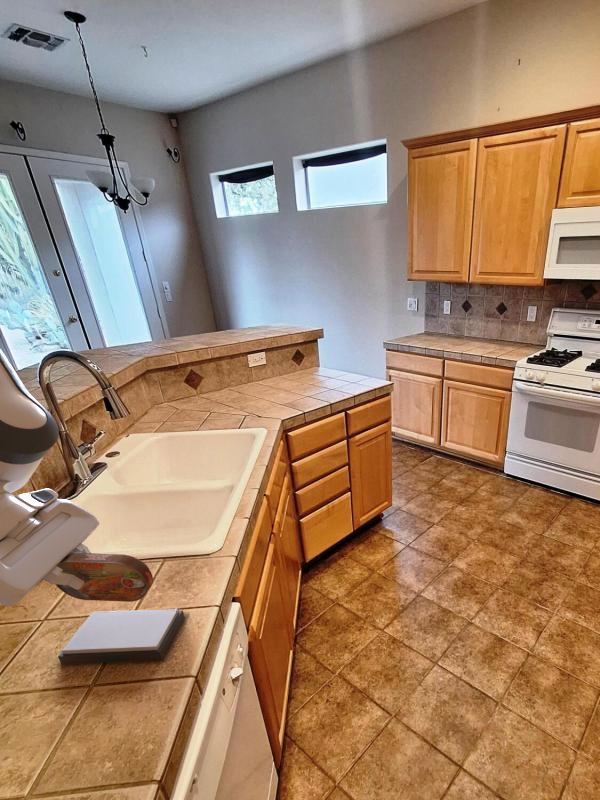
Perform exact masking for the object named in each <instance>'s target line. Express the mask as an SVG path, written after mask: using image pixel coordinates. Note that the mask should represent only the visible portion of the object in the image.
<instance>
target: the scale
mask: <svg viewBox="0 0 600 800" xmlns="http://www.w3.org/2000/svg"><path fill="white" fill-rule="evenodd" d="M185 618H186V616H185V613H184V610H183V609H179V608H167V609H166V608H162V609H159V608H158V609H133V610H131V609H130V610H105V611H92V612H91V613H90V614H89V616H88V617H87V619H86V620H85V621H84V622H83V623H82V624H81V626H80V627H79V628H78V630H76V631H75V633H74V635H73V636H72V637H71V638H70V640H68V641H67V643H66V644H65V646H64V647H62V649H61V652H60V653H59V655H58V656H57V658H58V660H59V662H60V664H61V665H62V666H65V665H84V664H85V665H86V664H108V663H109V664H110V663H130V662H153V661H163V659H165V656H166V654H167V652H168V650H169V649H170V647H171V645H172V643H173V640H174V639H175V637H176V635H177V634H178V631H179V629H180V628H181V626H182V624H183V622H184V620H185Z"/></svg>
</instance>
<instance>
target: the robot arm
mask: <svg viewBox="0 0 600 800" xmlns="http://www.w3.org/2000/svg"><path fill="white" fill-rule="evenodd" d="M59 435H60V430H59V426H58V423H57V421H56V419H55V418H54V416H53V415H52V414H51V413H50V412H49V411H48V410H47V408H45V407H44V406H43V405H42V404H41V403H40V402H39V401H38V400H37V399H36V398H35V397H34V396H33V395H32V394H31V392H29V391H28V389H27V388H26V386H25V384H24V383H23V381H22V380H21V378H20V377H19V375H18V374H17V372H16V370H15V368H14V367H13V366H12V364H11V362H10V361H9V359H8V358H7V356H6V355H5V353H4V352H3V350H2V349H1V348H0V605H1V606H3V607H15V606H18V605H19V604H20V603H21V602H22V601H24V600H25V598H26V597H27V596H28V595H30V593H31V592H33V590H34V589H36V587H38V586H39V585H40V584H41V583H43V581H45V582H47V583H48V584H51V585H55V584H60V585H69V586H71V587H72V588H74V589H77V590H78V589H80V588H81V587H82V586H83V584H84V583H85V582H86V581H87V580H88V578H87V577H86V576H83V575H82V574H81V573H79V572H78V573H77V574H76V575H72V574H66V573H61V572H62V571H63V569H61V568H59V567H57V565H58V564H59V563H60V562H61V561H62V560H63V559H64V558H65V557H66V556H67V555H70V554H73V553H92V552H91V551H90V549H89V547H88V546H86V545H85V544H83V543H84V542H85V541H86V540H87V539H88V538H89V537H90V536H91V535H92V534H93V533H94V532H95V531H96V530H97V528H98V527H99V525H100V520H99V518H97V516H95V514H93V513H92V512H90V511H88V509H87V510H86V509H85V508H84V507H82V506H80V505H78V504H76V503H75V502H73V501H71V500H69V499H65V498H58V497H59V493H58V492H56V491H55V490H54V489H52V488H42V489H38V490H35V491H30V492H25V493H17V494H16V495H14V493H15V492H17V491H19V490H20V489H22V488H23V487H24V486H25V485H27V483H28V482H29V480H31V478H32V476H33V474H34V473H35V472H36V471H37V469H38V467H39V466H40V464H41V463H42V461H43V459H44V457H45V456H47V454H48V453H49V451H50V450H51V449H52V448H53V447H54V445H56V443H57V442H58V440H59Z"/></svg>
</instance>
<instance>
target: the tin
mask: <svg viewBox="0 0 600 800" xmlns="http://www.w3.org/2000/svg"><path fill="white" fill-rule="evenodd" d="M57 567H59V568H61V569H63V571H62V572H61V573H66V574H72V575H76V574H77V573H78V572H79V573H81V574H82V575H83V576H86V577H87V578H88V580H87V581H86V582H85V583H84V584H83V586H82V587H81V588H80V589H78V590H77V589H74V588H72V587H71V586H69V585H60V584H54V586H56V587H57V588H58V589H59V590H60V591H61V592H62V593H64V594H66V595H68V596H69V597H71V598H74V599H78V600H82V601H99V602H123V603H124V602H128V603H129V602H131V603H133V602H138V601H140V600H142V599H143V598H145V596H146V595H147V593H148V591H149V590H150V588H151V587H152V585H153V583H154V577H153V573H152V571H151V570H150V568H149V566H148V565H147V564H146V563H145V562H144V561H142V560H141V559H139V558H137V557H135V556H133V555H130V554H129V555H127V554H121V553H97V552H96V553H94V552H93V553H92V552H91V553H73V554H70V555H67V556H66V557H65V558H64V559H63V560H62V561H61V562H60V563H59V564H58V565H57Z"/></svg>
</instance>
